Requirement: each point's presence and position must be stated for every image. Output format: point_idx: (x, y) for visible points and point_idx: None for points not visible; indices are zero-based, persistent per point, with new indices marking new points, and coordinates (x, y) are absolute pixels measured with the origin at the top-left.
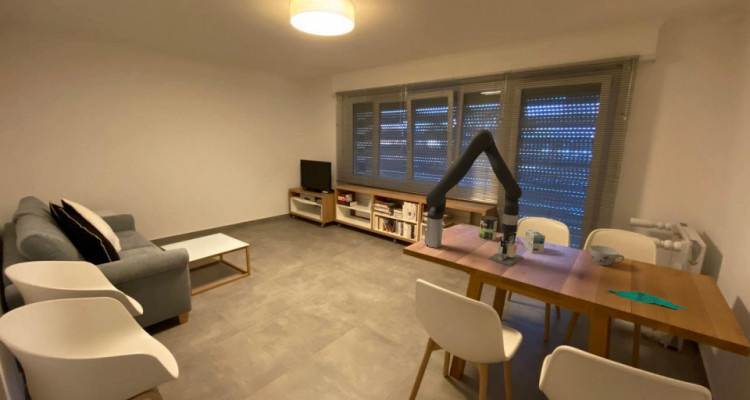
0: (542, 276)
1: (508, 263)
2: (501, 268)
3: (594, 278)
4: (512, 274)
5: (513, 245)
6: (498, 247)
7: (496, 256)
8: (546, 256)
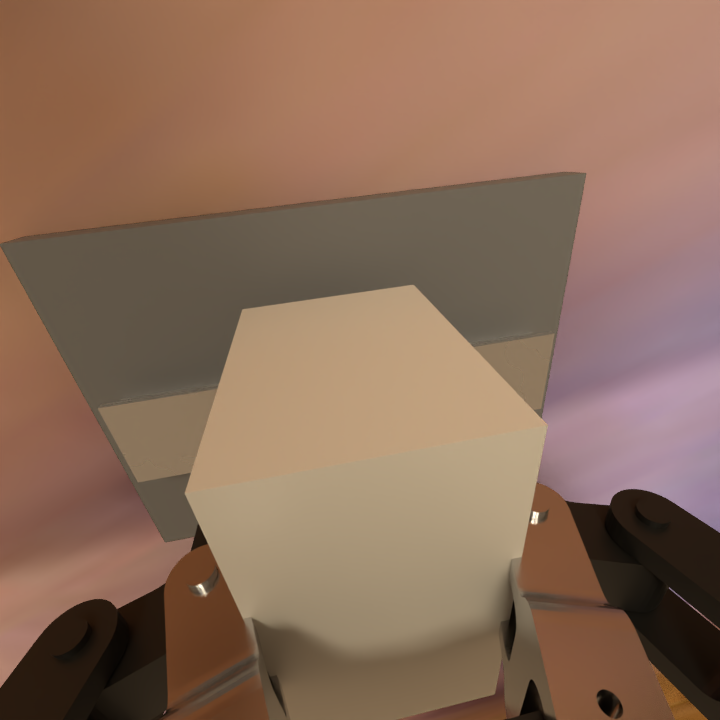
0: None
1: (168, 521)
2: (5, 523)
3: (495, 716)
4: (26, 625)
5: (388, 706)
6: (226, 386)
7: (217, 297)
8: (716, 498)
